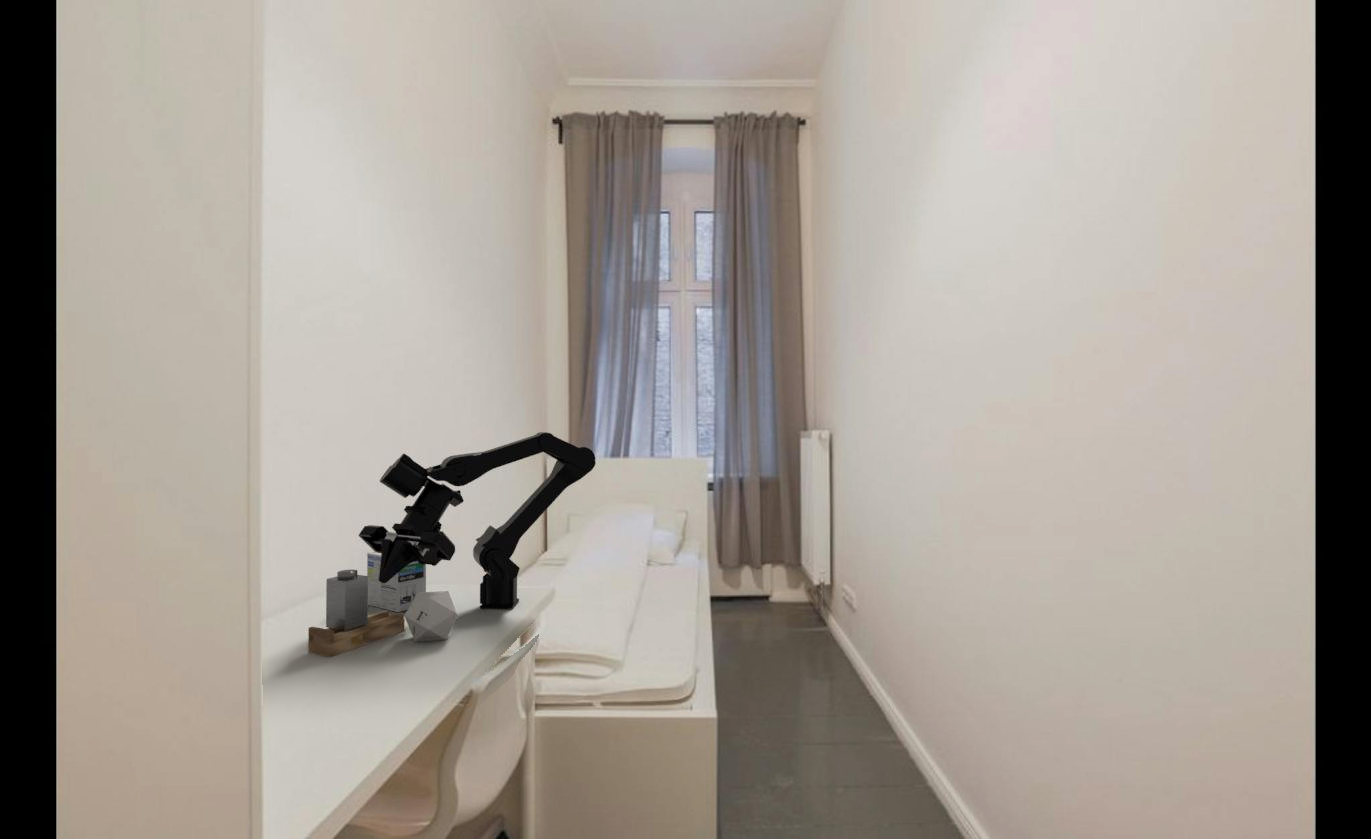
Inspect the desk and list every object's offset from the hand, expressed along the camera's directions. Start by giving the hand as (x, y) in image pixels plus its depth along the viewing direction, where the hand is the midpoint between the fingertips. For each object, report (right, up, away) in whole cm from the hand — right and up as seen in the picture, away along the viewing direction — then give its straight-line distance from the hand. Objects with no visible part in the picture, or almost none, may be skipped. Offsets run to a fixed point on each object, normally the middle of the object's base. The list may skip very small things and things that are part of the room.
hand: (381, 582), depth 119 cm
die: (+10, -9, -3) cm, 14 cm away
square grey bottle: (-3, -7, -7) cm, 10 cm away
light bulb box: (-5, -9, +18) cm, 20 cm away
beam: (-2, -9, -5) cm, 10 cm away
